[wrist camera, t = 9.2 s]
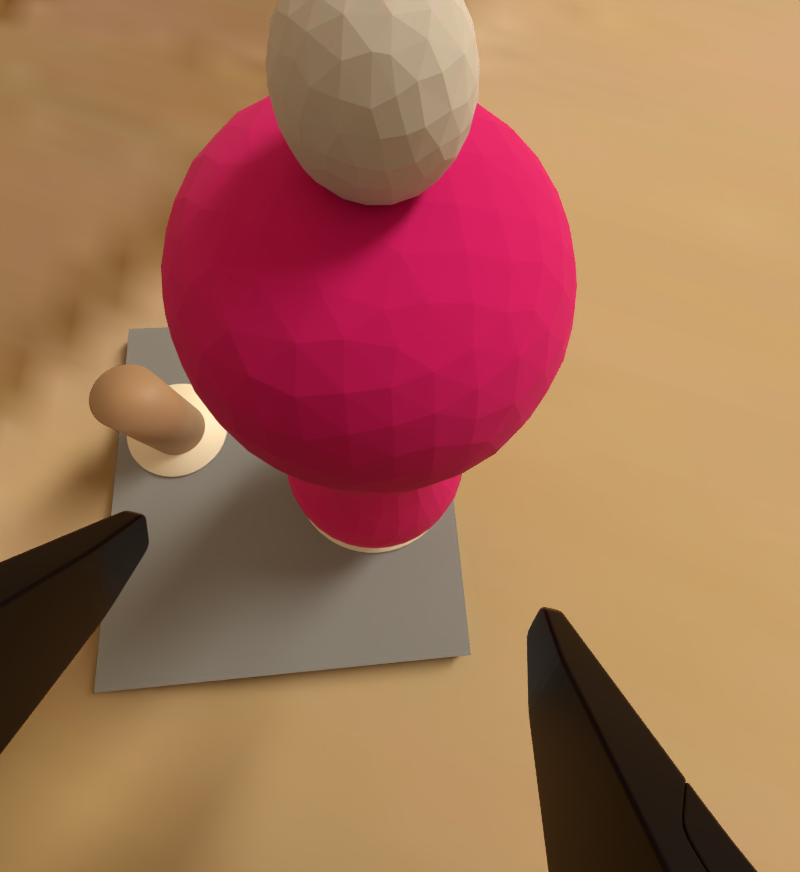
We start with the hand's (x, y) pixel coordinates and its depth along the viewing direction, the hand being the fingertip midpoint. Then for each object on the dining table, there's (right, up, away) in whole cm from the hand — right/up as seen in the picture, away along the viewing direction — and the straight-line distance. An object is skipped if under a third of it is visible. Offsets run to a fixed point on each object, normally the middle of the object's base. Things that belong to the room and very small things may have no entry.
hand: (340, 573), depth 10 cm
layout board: (-5, +1, +13) cm, 14 cm away
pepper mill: (0, +1, +13) cm, 13 cm away
